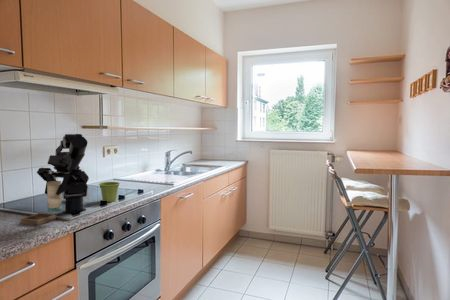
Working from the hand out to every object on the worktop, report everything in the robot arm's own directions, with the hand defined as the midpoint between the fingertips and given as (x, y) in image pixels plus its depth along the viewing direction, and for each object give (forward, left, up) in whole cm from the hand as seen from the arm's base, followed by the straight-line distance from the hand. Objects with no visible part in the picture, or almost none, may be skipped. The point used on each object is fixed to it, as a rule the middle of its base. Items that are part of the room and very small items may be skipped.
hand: (51, 194), depth 106 cm
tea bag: (-34, -16, -11) cm, 40 cm away
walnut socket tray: (-1, -7, -11) cm, 13 cm away
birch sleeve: (-1, 0, -7) cm, 7 cm away
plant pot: (-36, -1, -11) cm, 38 cm away
